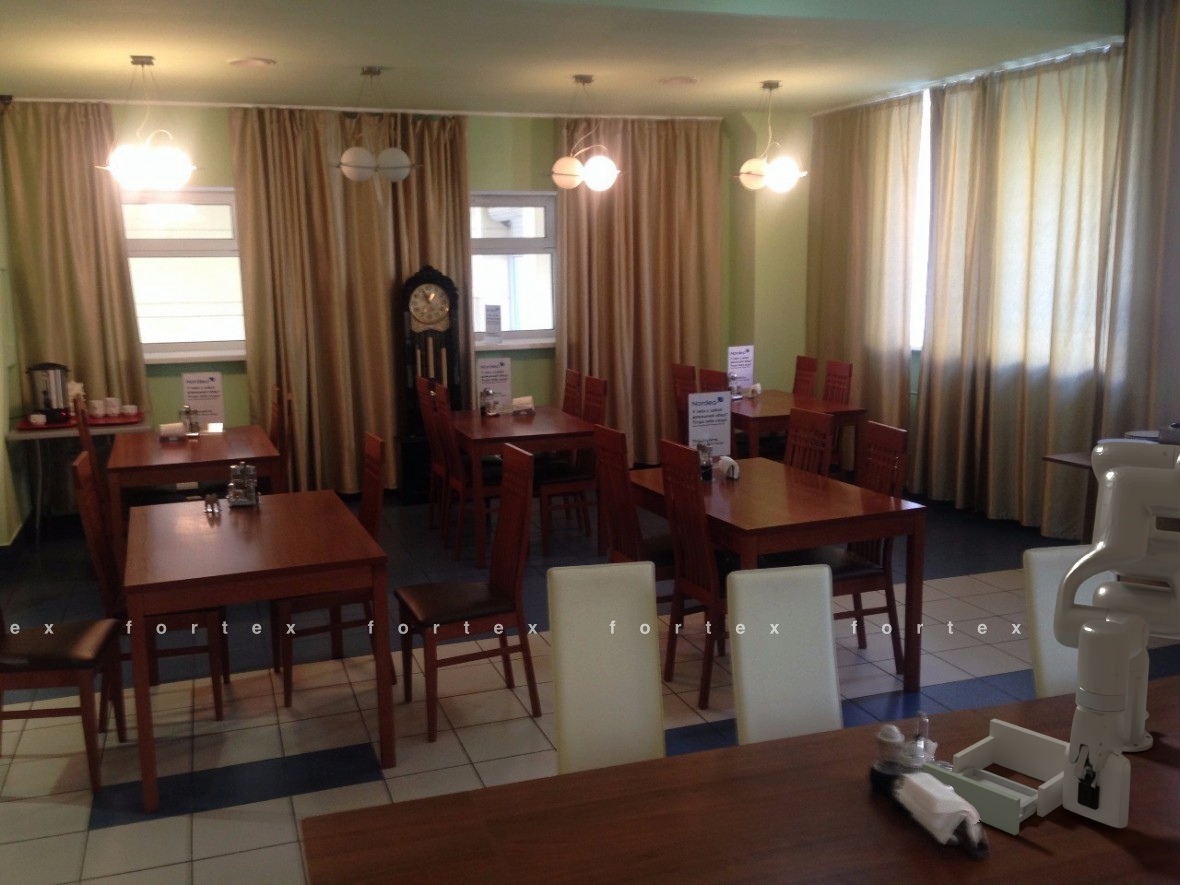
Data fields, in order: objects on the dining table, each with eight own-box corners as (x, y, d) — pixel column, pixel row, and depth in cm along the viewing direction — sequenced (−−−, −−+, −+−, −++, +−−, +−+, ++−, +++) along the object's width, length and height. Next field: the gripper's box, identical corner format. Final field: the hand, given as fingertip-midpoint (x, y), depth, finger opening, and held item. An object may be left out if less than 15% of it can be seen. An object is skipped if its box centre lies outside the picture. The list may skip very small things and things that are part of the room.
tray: (963, 773, 188) (964, 741, 187) (1055, 808, 175) (1057, 774, 174) (921, 796, 180) (922, 764, 179) (1015, 835, 166) (1016, 800, 166)
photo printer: (1057, 808, 173) (1061, 739, 171) (1069, 799, 176) (1073, 731, 174) (1120, 832, 165) (1124, 761, 163) (1132, 823, 168) (1136, 752, 166)
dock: (992, 758, 194) (994, 718, 193) (1081, 790, 181) (1084, 747, 180) (952, 781, 185) (953, 739, 184) (1042, 817, 173) (1045, 772, 171)
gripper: (1101, 676, 175) (1095, 776, 178) (1053, 704, 165) (1048, 810, 168) (1147, 689, 169) (1140, 792, 172) (1100, 719, 159) (1094, 828, 162)
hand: (1095, 800), depth 170 cm, fingers closed on photo printer, 4 cm apart
